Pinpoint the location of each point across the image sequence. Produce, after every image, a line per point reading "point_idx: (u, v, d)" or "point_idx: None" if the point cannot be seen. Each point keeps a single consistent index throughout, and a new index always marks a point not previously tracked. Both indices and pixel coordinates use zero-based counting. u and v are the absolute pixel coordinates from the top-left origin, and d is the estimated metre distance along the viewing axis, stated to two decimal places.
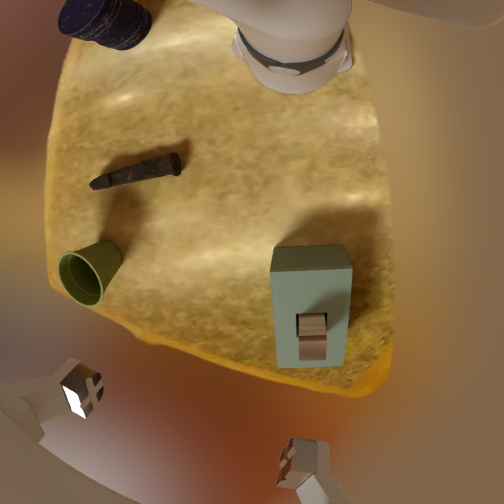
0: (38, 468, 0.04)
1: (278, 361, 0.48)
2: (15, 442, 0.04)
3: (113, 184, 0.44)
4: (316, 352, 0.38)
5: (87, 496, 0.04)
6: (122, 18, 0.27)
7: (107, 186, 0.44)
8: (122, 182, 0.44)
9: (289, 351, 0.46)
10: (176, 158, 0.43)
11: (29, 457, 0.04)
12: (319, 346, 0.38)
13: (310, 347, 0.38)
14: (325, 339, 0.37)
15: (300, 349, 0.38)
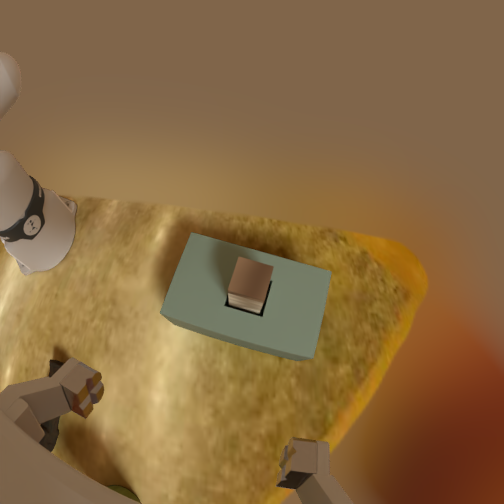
0: (38, 468, 0.04)
1: (300, 353, 0.33)
2: (15, 442, 0.04)
3: (48, 429, 0.29)
4: (255, 274, 0.30)
5: (87, 496, 0.04)
6: None
7: (46, 433, 0.28)
8: None
9: (284, 333, 0.34)
10: (57, 361, 0.36)
11: (29, 457, 0.04)
12: (246, 267, 0.31)
13: (244, 279, 0.30)
14: (238, 258, 0.31)
15: (242, 292, 0.29)
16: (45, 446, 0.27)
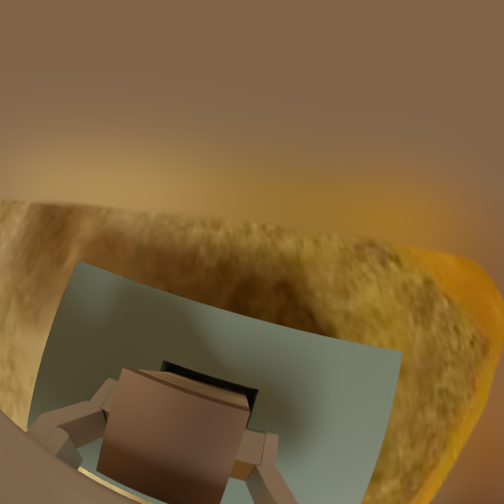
0: (38, 468, 0.04)
1: None
2: (15, 442, 0.04)
3: None
4: (180, 438, 0.07)
5: (87, 496, 0.04)
6: None
7: None
8: None
9: None
10: None
11: (29, 457, 0.04)
12: (146, 412, 0.07)
13: (141, 449, 0.06)
14: (123, 374, 0.07)
15: (141, 487, 0.06)
16: None
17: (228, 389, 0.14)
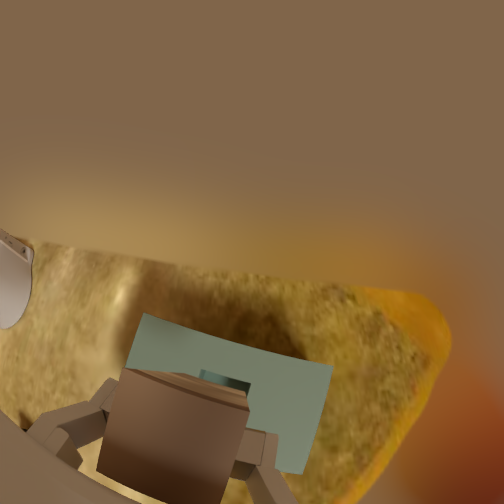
0: (38, 468, 0.04)
1: (285, 470, 0.21)
2: (15, 442, 0.04)
3: None
4: (180, 438, 0.07)
5: (87, 496, 0.04)
6: None
7: None
8: None
9: None
10: None
11: (29, 456, 0.04)
12: (146, 412, 0.07)
13: (141, 449, 0.06)
14: (123, 374, 0.07)
15: (141, 487, 0.06)
16: None
17: (228, 389, 0.14)
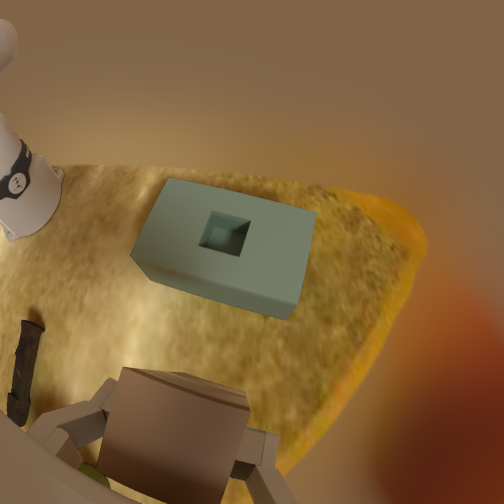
0: (38, 468, 0.04)
1: (282, 298, 0.30)
2: (15, 442, 0.04)
3: (18, 396, 0.26)
4: (180, 438, 0.07)
5: (87, 496, 0.04)
6: None
7: (15, 401, 0.25)
8: (20, 385, 0.27)
9: (264, 274, 0.31)
10: None
11: (29, 456, 0.04)
12: (146, 412, 0.07)
13: (141, 449, 0.06)
14: (123, 373, 0.07)
15: (141, 487, 0.06)
16: (15, 416, 0.24)
17: (228, 389, 0.14)
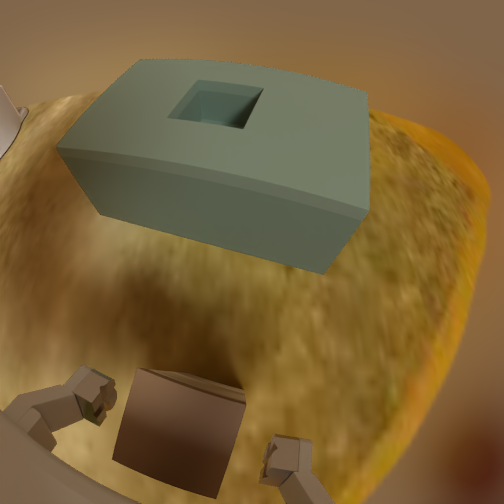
0: (38, 468, 0.04)
1: (337, 197, 0.13)
2: (15, 442, 0.04)
3: None
4: (187, 427, 0.08)
5: (87, 496, 0.04)
6: None
7: None
8: None
9: (294, 155, 0.14)
10: None
11: (29, 457, 0.04)
12: (157, 406, 0.08)
13: (153, 438, 0.08)
14: None
15: (152, 472, 0.07)
16: None
17: (228, 387, 0.15)
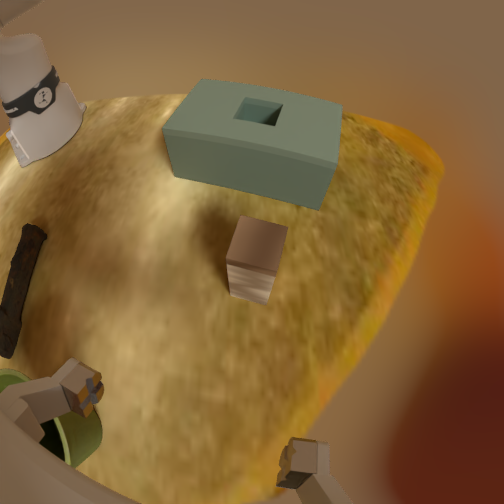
0: (38, 468, 0.04)
1: (321, 157, 0.28)
2: (15, 442, 0.04)
3: (7, 310, 0.24)
4: (263, 236, 0.22)
5: (87, 496, 0.04)
6: None
7: (2, 315, 0.23)
8: (11, 296, 0.25)
9: (301, 139, 0.29)
10: None
11: (29, 456, 0.04)
12: (250, 228, 0.23)
13: (248, 243, 0.22)
14: None
15: (246, 260, 0.21)
16: (0, 336, 0.22)
17: None
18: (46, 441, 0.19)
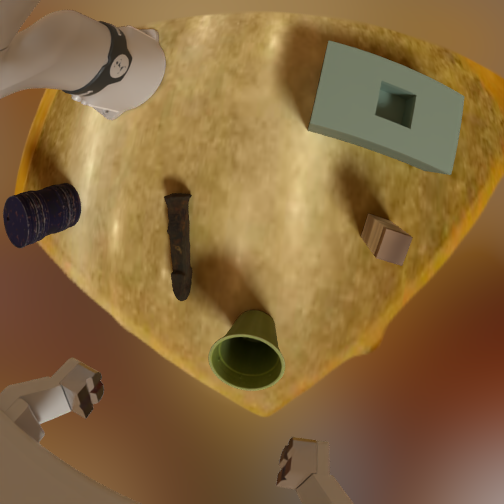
0: (38, 468, 0.04)
1: (441, 168, 0.29)
2: (15, 442, 0.04)
3: (183, 271, 0.46)
4: (398, 244, 0.32)
5: (87, 496, 0.04)
6: (45, 196, 0.40)
7: (182, 277, 0.46)
8: (183, 259, 0.46)
9: (429, 147, 0.28)
10: (172, 194, 0.44)
11: (29, 456, 0.04)
12: (391, 239, 0.32)
13: (389, 248, 0.33)
14: (385, 230, 0.32)
15: (387, 259, 0.33)
16: (184, 292, 0.47)
17: (389, 222, 0.39)
18: (238, 346, 0.49)
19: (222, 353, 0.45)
